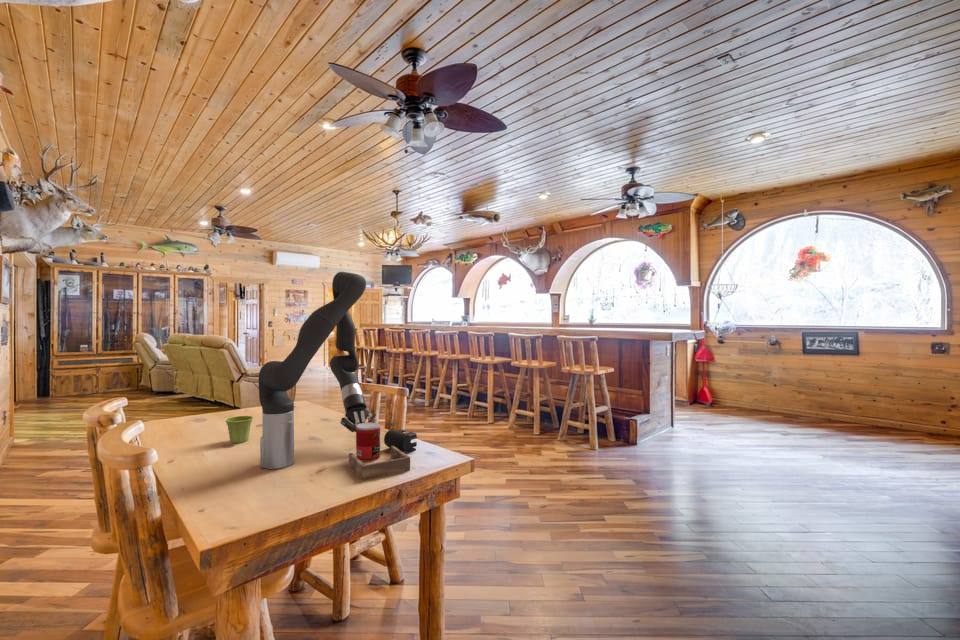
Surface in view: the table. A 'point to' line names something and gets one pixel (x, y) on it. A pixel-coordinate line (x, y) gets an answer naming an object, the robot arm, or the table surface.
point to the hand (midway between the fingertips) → (363, 440)
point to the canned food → (368, 441)
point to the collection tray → (381, 465)
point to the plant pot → (239, 428)
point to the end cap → (401, 440)
